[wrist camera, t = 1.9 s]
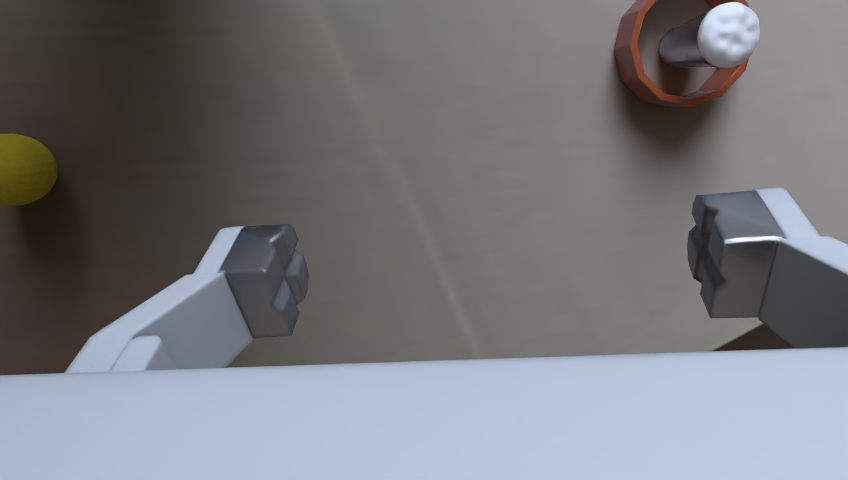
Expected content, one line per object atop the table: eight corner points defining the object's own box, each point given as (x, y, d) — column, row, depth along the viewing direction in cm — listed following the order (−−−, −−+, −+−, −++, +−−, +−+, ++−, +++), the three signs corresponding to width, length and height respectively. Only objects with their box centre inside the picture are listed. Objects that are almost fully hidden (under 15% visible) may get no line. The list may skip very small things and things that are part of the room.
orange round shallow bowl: (602, 6, 51) (618, -1, 47) (714, -33, 50) (738, -44, 47) (632, 121, 53) (649, 121, 49) (740, 83, 53) (764, 80, 49)
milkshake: (657, 7, 51) (722, -20, 41) (711, 33, 52) (787, 13, 42) (633, 58, 52) (691, 44, 42) (687, 83, 52) (756, 75, 43)
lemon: (77, 138, 50) (19, 142, 42) (73, 203, 51) (17, 218, 43) (7, 127, 50) (-64, 129, 42) (5, 193, 51) (-64, 207, 43)
